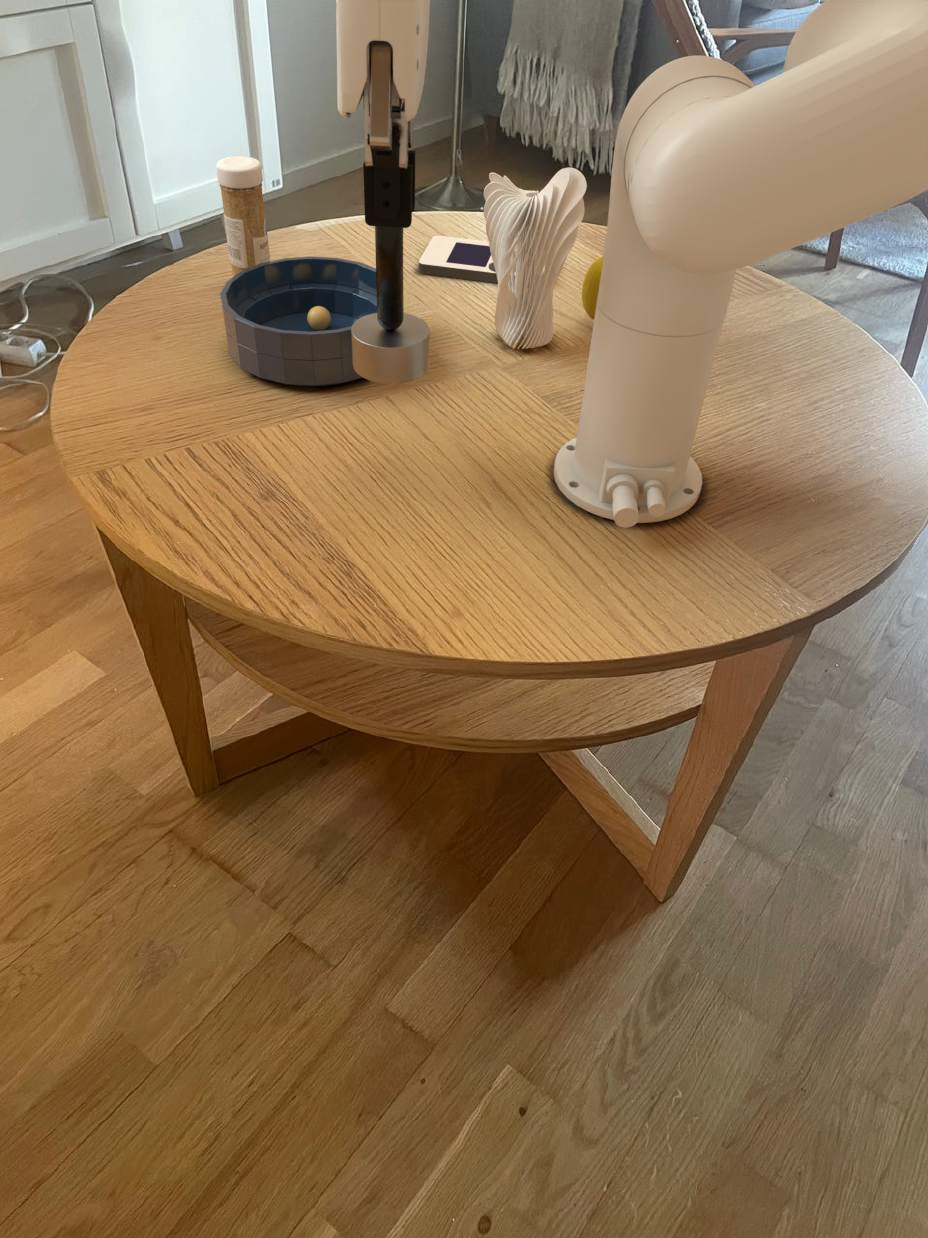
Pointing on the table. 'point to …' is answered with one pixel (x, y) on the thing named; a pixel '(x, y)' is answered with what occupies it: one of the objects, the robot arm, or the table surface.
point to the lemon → (592, 287)
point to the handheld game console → (459, 259)
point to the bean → (319, 318)
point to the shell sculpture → (531, 250)
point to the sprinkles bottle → (243, 211)
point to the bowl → (297, 318)
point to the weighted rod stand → (390, 322)
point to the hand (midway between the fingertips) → (390, 215)
